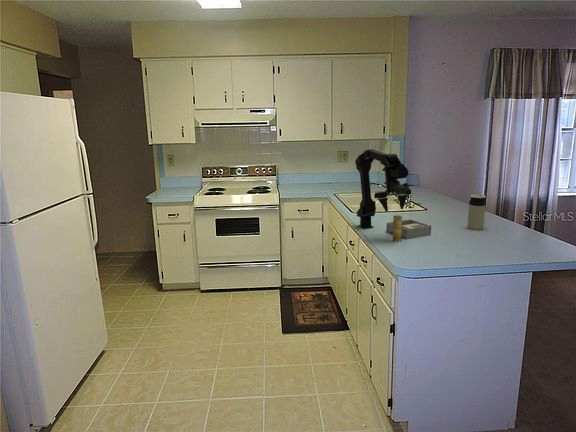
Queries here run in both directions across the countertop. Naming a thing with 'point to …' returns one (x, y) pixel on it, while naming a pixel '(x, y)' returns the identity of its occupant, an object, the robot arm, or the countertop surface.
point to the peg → (397, 228)
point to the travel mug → (476, 212)
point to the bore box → (411, 229)
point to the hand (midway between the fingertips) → (394, 210)
